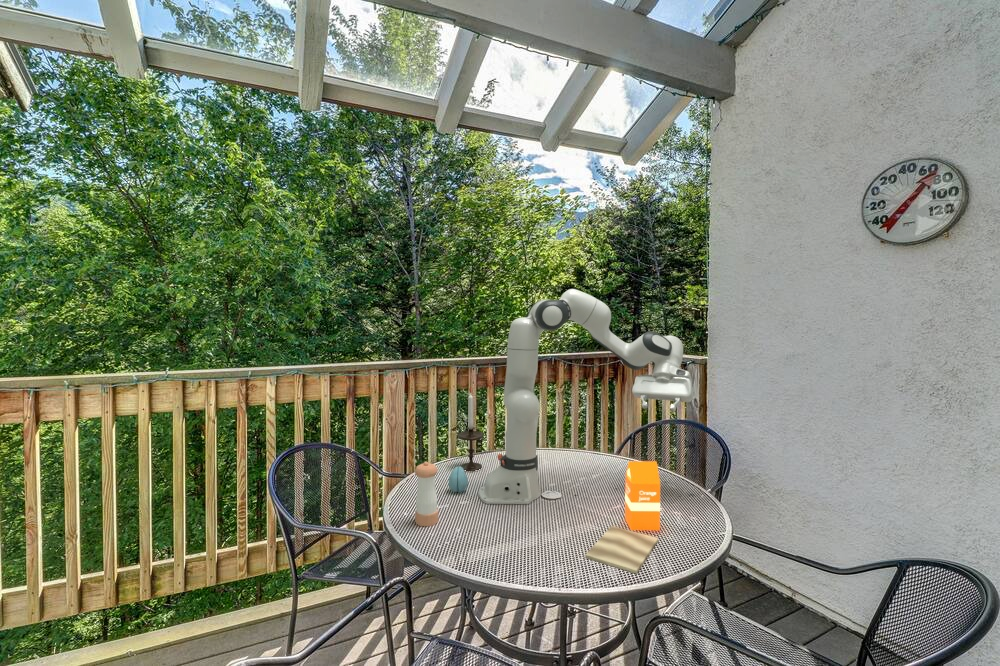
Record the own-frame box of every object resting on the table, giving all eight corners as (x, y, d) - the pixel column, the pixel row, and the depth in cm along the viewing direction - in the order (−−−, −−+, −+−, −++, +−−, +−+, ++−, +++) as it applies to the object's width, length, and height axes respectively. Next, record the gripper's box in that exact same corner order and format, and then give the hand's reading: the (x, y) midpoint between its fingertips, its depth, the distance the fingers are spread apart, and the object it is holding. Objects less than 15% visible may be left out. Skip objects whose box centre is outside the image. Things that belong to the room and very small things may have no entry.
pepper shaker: (431, 528, 144) (430, 467, 143) (410, 524, 147) (409, 464, 146) (442, 518, 151) (441, 459, 150) (422, 514, 154) (421, 457, 153)
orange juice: (624, 518, 150) (625, 457, 149) (652, 518, 150) (653, 457, 149) (630, 530, 143) (631, 465, 141) (660, 530, 142) (661, 465, 141)
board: (636, 573, 120) (636, 570, 120) (585, 557, 127) (585, 554, 127) (658, 540, 136) (658, 538, 136) (611, 528, 144) (611, 525, 144)
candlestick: (481, 473, 191) (480, 388, 189) (455, 471, 193) (454, 387, 191) (486, 464, 202) (485, 383, 200) (461, 463, 204) (461, 383, 202)
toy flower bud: (468, 461, 181) (467, 470, 169) (469, 484, 181) (467, 495, 169) (450, 461, 181) (447, 470, 169) (450, 485, 181) (447, 495, 169)
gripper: (634, 369, 171) (626, 401, 164) (693, 372, 160) (687, 406, 152) (638, 379, 175) (630, 411, 168) (696, 382, 164) (691, 416, 156)
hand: (658, 408), depth 160 cm, fingers open, 8 cm apart
